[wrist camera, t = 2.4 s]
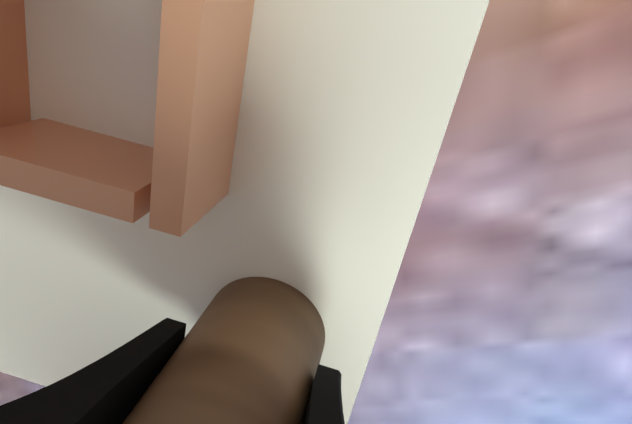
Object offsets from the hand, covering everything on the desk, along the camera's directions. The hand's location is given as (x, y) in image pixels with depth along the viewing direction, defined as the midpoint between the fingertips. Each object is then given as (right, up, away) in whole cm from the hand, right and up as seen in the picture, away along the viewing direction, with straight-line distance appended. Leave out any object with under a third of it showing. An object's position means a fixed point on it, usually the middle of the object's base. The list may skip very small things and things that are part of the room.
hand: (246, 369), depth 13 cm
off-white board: (-2, +6, +1) cm, 6 cm away
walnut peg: (0, +1, +2) cm, 2 cm away
